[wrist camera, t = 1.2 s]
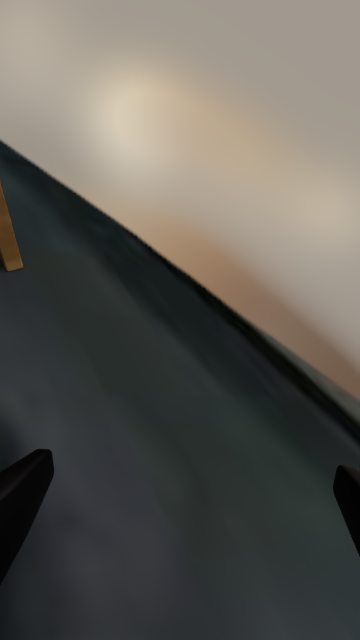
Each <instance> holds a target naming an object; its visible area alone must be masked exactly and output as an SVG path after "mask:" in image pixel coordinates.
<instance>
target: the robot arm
mask: <svg viewBox="0 0 360 640" xmlns="http://www.w3.org/2000/svg"><path fill="white" fill-rule="evenodd" d="M53 475H54V465H53V458H52V452H51V451H50V450H49V449H37V450H35V451H33V452H32V453H30V454H28V455H27V456H25V457H24V458H22V459H21V460H19V461H17V462H16V463H14V464H13V465H11V466H9V467H8V468H6V469H5V470H3V471H2V472H0V585H1V583H2V581H3V579H4V578H5V576H6V574H7V572H8V570H9V568H10V566H11V565H12V563H13V561H14V559H15V557H16V555H17V553H18V552H19V550H20V548H21V546H22V544H23V542H24V540H25V538H26V536H27V535H28V532H29V530H30V528H31V526H32V524H33V522H34V519H35V517H36V515H37V512H38V510H39V508H40V506H41V503H42V501H43V499H44V497H45V494H46V492H47V490H48V487H49V485H50V483H51V481H52V478H53ZM333 492H334V495H335V498H336V500H337V503H338V505H339V508H340V510H341V512H342V515H343V517H344V520H345V522H346V525H347V527H348V530H349V532H350V535H351V537H352V539H353V542H354V544H355V547H356V549H357V551H358V554H359V556H360V470H359V469H357V468H356V467H354V466H350V465H339V466H338V467H337V470H336V474H335V479H334V484H333Z"/></svg>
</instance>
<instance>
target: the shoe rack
mask: <svg viewBox="0 0 360 640" xmlns="http://www.w3.org/2000/svg"><path fill="white" fill-rule="evenodd" d="M0 260H1V262H2V264H3V265H4V267H5V268H6V270H7V271H12V270H16V269H20V268H23V264H22V260H21V257H20V253H19V249H18V246H17V242H16V238H15V234H14V231H13V227H12V223H11V220H10V216H9V212H8V209H7V205H6V201H5V197H4V194H3V190H2V186H1V183H0Z"/></svg>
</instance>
